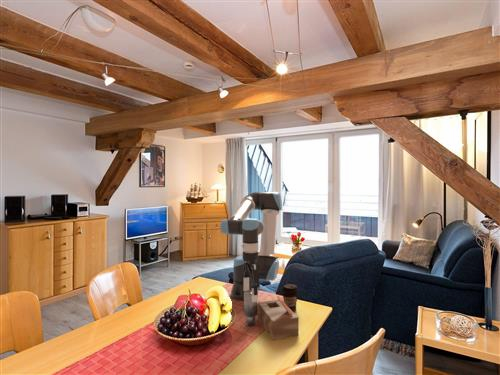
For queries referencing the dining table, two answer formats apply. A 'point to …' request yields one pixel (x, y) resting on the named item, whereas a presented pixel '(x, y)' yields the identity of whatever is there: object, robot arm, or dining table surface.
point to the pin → (249, 308)
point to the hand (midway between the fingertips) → (250, 295)
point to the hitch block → (277, 320)
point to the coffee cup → (290, 296)
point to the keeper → (284, 305)
